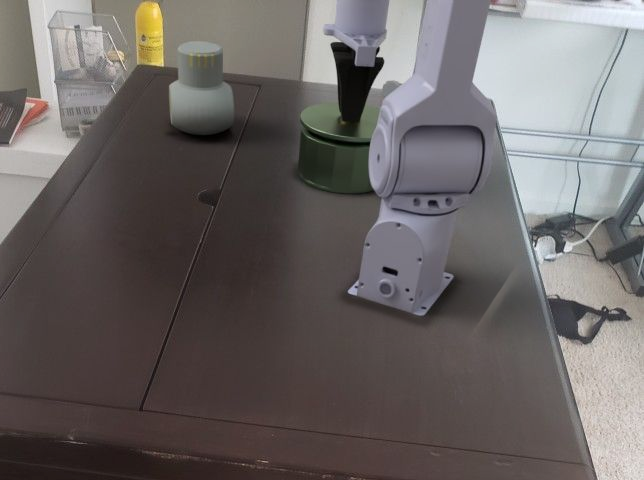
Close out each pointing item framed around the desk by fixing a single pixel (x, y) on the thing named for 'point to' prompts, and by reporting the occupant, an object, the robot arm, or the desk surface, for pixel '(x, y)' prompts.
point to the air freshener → (201, 91)
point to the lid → (339, 122)
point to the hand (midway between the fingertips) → (349, 116)
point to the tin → (334, 163)
